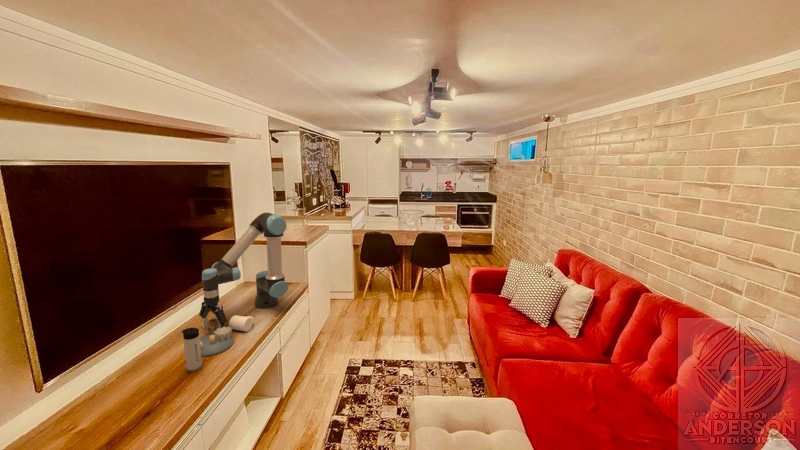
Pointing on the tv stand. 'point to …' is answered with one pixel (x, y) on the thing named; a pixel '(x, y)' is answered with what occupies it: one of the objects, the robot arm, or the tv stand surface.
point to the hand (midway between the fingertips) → (213, 330)
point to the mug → (241, 323)
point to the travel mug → (192, 349)
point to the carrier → (216, 342)
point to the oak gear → (212, 326)
